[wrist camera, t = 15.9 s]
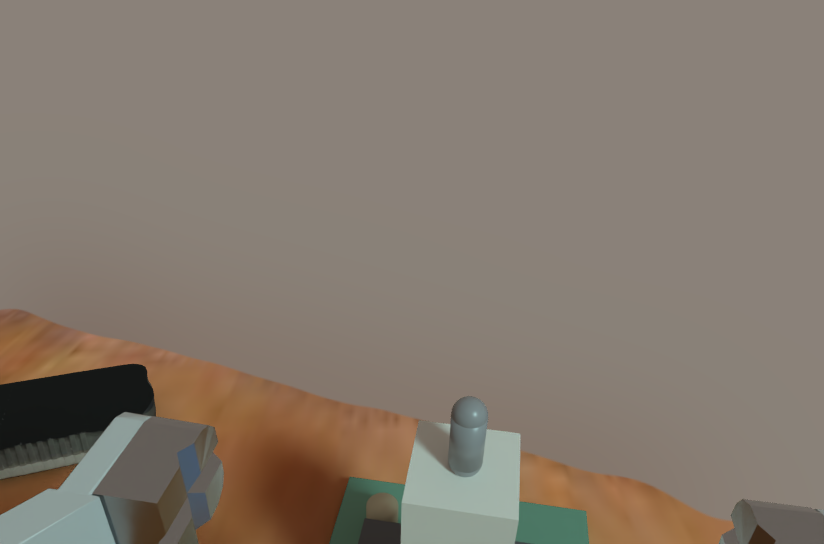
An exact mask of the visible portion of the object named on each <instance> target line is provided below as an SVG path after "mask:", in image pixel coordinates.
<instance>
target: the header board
mask: <svg viewBox="0 0 824 544" xmlns="http://www.w3.org/2000/svg"><path fill="white" fill-rule="evenodd" d="M404 489H405V485H403V484H396V483H389V482H382V481H375V480H368V479H362V478H355V477H350V478H349V481H348V484H347V488H346V491H345V494H344V497H343V501H342V504H341V507H340V510H339V514H338V517H337V520H336V523H335V527H334V530H333V533H332V536H331V540H330V543H329V544H401V507H402V498H403V494H404ZM515 544H589V538H588V527H587V516H586V511H582V510H575V509H568V508H561V507H554V506H547V505H540V504H533V503H527V502H520V501H519V522H518V527H517V533H516V539H515Z"/></svg>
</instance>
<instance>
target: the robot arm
mask: <svg viewBox="0 0 824 544" xmlns="http://www.w3.org/2000/svg"><path fill="white" fill-rule="evenodd" d="M217 443H218V440H217V435H216V431H215V427H212V426H209V425H203V424H197V423H191V422H185V421H179V420H173V419H167V418H161V417H155V416H147V415H141V414H134V413H128V412H124V413H122V414H120V415H119V416H117V417H115V418H114V419H113V421H112V422H111V423H110V424H109V426H108V427H107V428H106V429H105V431H104V432H103V433H102V435H101V436H100V437H99V438H98V440H97V441H96V442H95V443H94V445H93V446H92V447H91V448H90V450H89V451H88V452H87V453H86V455H85V456H84V457H83V458H82V460H81V461H80V462H79V463H78V465H77V466H76V467H75V469H74V470H73V471H72V472H71V474H70V475H69V476H68V477H67V479H66V480H65V481H64V482H63V484H62V485H61V486H60V487H59V489H58V490H57V489H47V490H45V491H44V492H42V493H40V494H38V495H36V496H34V497H33V498H31V499H29V500H27V501H25V502H23V503H22V504H20V505H18V506H16V507H14V508H13V509H11V510H9V511H7V512H5V513H3V514H2V515H0V544H198V539H197V535H196V529H197V528H199V527H200V526H202V525H203V524H204V523H206V522H207V521H209V520H210V519H211V518H212V515H213V513H214V511H215V509H216V507H217V505H218V503H219V499H220V495H221V491H222V488H223V475H224V471H223V466H222V461H221V460H220V459H219V458H218V457H217V456H216V455H215V454H214V453H213V450H214V449H215V447H216V445H217ZM731 518H732V521H733V524H734V527H735V528H734V529H732V530H730V531H728V532H726V533H724V534H723V535H722V536H721V539H720V542H719V544H824V510H820V509H812V508H808V507H800V506H792V505H784V504H777V503H769V502H761V501H752V500H746V499H742V500H741V501H739V502H738V503H737V504H736V505H735V507H734V509H733V511H732V514H731Z"/></svg>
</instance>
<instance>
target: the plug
mask: <svg viewBox="0 0 824 544" xmlns="http://www.w3.org/2000/svg"><path fill="white" fill-rule="evenodd" d="M487 422H488V412H487V408H486V406H485V404H484V403H483V402H482V401H481V400H480V399H478V398H475V397H472V396H467V397H463V398H461V399H459V400H458V401H457V402H456V403H455V404H454V406H453V408H452V412H451V424H444V423H436V422H429V421H421V420H419V423H418V428H417V432H416V437H415V442H414V446H413V451H412V456H411V461H410V465H409V470H408V475H407V479H406V484H405V489H404V494H403V498H402V507H401V544H515V539H516V533H517V527H518V522H519V482H520V434H518V433H511V432H504V431H496V430H488V429H487Z"/></svg>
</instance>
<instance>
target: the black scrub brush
mask: <svg viewBox="0 0 824 544" xmlns="http://www.w3.org/2000/svg"><path fill="white" fill-rule="evenodd" d="M124 412H128V413H134V414H141V415H147V416H155V417H156V407H155V402H154V393H153V388H152V386H151V384H150V382H149V381H148V377H147V370H146V367H144V366H143V365H139V364H127V365H120V366H114V367H108V368H101V369H94V370H89V371H82V372H76V373H70V374H64V375H58V376H51V377H45V378H39V379H33V380H27V381H21V382H15V383H9V384H2V385H0V480H1V479H6V478H10V477H16V476H21V475H26V474H30V473H36V472H40V471H44V470H49V469H54V468H59V467H63V466H69V465H73V464H78V463H79V462H80V461H81V460H82V458H83V457H84V456H85V455H86V453H87V452H88V451H89V450H90V448H91V447H92V446H93V445H94V443H95V442H96V441H97V440H98V438H99V437H100V436H101V435H102V433H103V432H104V431H105V429H106V428H107V427H108V426H109V424H110V423H111V422H112V421H113V419H114V418H115V417H117V416H119V415H120V414H122V413H124Z"/></svg>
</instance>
